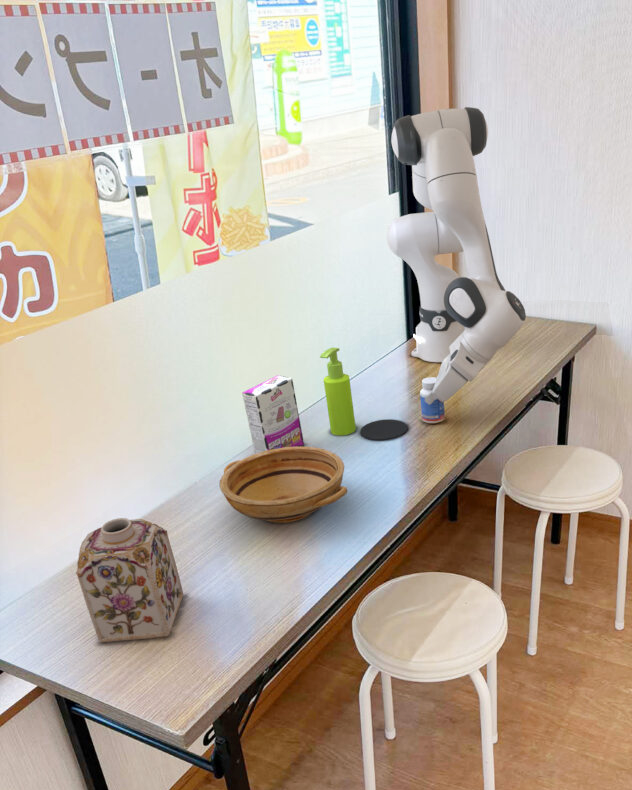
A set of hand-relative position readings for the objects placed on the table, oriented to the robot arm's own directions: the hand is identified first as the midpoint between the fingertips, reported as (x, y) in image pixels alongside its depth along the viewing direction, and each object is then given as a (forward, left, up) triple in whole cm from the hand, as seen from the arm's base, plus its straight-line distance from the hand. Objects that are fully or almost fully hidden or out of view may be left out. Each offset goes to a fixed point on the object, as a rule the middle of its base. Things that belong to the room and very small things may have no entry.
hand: (429, 396), depth 198 cm
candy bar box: (+16, -32, -6) cm, 37 cm away
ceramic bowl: (+42, -23, -6) cm, 48 cm away
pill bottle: (0, +1, -6) cm, 6 cm away
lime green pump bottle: (+5, -20, -6) cm, 22 cm away
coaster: (+5, -10, -6) cm, 13 cm away
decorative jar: (+78, -37, -6) cm, 87 cm away
